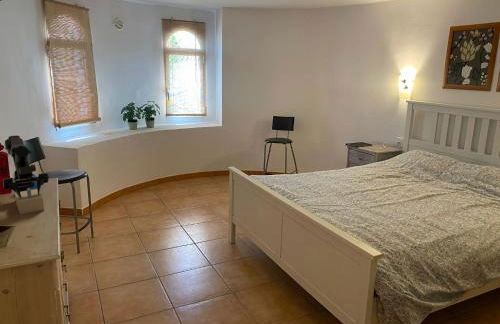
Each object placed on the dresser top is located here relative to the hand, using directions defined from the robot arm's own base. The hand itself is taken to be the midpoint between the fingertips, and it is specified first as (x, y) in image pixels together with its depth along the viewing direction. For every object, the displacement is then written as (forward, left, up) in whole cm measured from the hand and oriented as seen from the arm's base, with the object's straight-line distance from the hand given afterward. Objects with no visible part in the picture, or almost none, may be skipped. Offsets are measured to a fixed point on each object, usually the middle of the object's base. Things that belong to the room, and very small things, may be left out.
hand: (29, 195), depth 177 cm
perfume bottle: (-30, -24, -8) cm, 40 cm away
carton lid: (-4, -4, -2) cm, 6 cm away
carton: (-4, -4, -8) cm, 10 cm away
